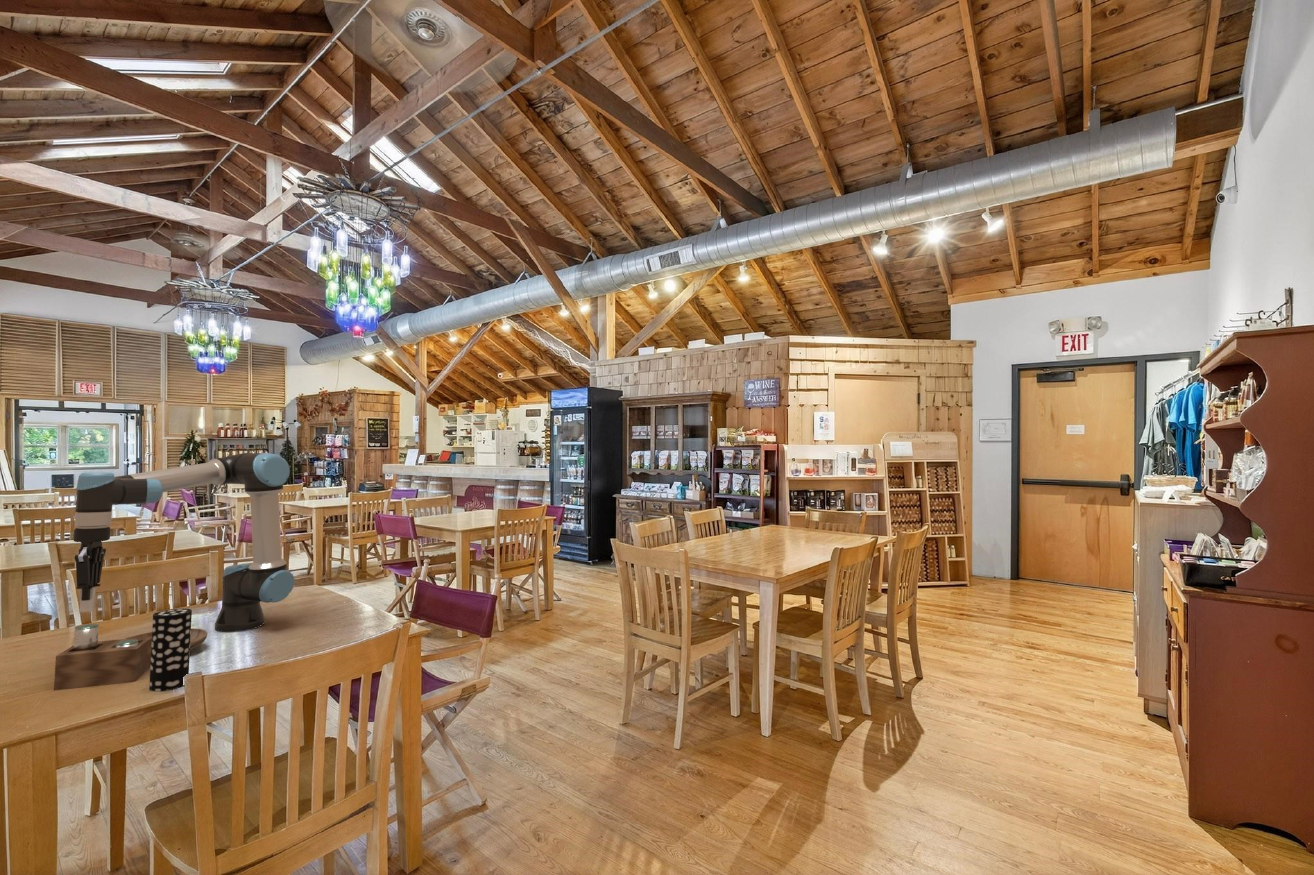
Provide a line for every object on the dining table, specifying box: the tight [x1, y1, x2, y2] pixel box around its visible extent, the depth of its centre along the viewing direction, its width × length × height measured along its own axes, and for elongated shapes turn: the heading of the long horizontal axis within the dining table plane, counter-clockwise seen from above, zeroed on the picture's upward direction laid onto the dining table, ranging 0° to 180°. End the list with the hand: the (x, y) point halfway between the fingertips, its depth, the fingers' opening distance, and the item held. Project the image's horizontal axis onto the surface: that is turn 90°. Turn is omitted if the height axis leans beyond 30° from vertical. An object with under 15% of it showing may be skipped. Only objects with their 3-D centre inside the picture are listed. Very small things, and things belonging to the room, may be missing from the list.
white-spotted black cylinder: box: [148, 608, 193, 692], centre depth 163 cm, size 8×8×20 cm
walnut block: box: [53, 637, 152, 691], centre depth 167 cm, size 17×12×9 cm
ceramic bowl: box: [125, 627, 208, 651], centre depth 188 cm, size 23×24×5 cm
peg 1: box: [73, 623, 100, 651], centre depth 165 cm, size 5×5×8 cm
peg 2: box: [116, 640, 138, 648], centre depth 169 cm, size 5×5×8 cm
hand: (86, 611), depth 165 cm, fingers closed
